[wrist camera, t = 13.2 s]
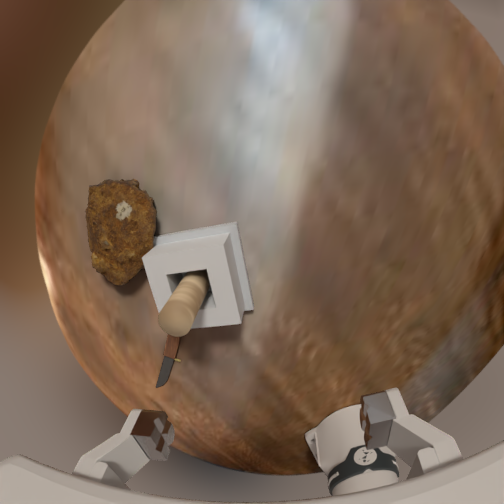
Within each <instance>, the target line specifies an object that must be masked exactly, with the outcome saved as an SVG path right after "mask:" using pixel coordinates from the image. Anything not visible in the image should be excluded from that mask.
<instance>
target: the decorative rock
mask: <svg viewBox="0 0 504 504" xmlns="http://www.w3.org/2000/svg"><path fill="white" fill-rule="evenodd" d="M138 186H139V182H138V181H137V180H135V179H132V180H125V181H124V180H123V179H121V180H120V181H113V180H104V181H103V182H102V183H100V184H98V185H90V186H89V197H88V207H87V209H86V221H87V229H88V237H89V239H88V242H89V247H90V250H91V252H92V256H91V258H92V266H93V268H95V269H96V271H97V272H98V273H101V274H104V276H105V277H106V278H107V279H108V280H109V281H110V282H112V283H113V284H114V285H119V286H122V285H124V284H126V283H128V281H129V279H132V277H134V276H136V275H137V273H138V272H139V271H140V270H141V269H144V268H145V267H144V264H143V260H142V257H143V256H144V255H145V254H147V253H148V252H149V251H150V250H151V249H152V248H153V247H154V244H153V241H154V234H155V231H156V214H157V211H156V210H155V208H154V207H153V202H154V200H153V198H151V197H149V196H148V194H147V192H146V191H142V190H140V189H138Z"/></svg>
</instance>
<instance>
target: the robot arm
mask: <svg viewBox="0 0 504 504" xmlns="http://www.w3.org/2000/svg"><path fill="white" fill-rule="evenodd" d="M360 403H361V404H360V405H354V406H349V407H346V408H343V409H341V410H338V411H336V412H334V413H332V414H331V415H329V416H328V417H326V418H325V419H324V420H323V421H322V422H321V423H320V424H319V425H318V426H317V427H316V428H314V429H312V430H310V431H308V432H307V433H305V439H306V441H307V443H308V445H309V447H310V449H311V451H312V453H313V455H314V457H315V459H316V461H317V463H318V465H319V466H320V468H321V469H322V470H323V472H324V473H325V474H326V476H327V477H328V488H329V491H330V494H331V495H332V496H329V497H322V498H314V499H305V500H294V501H279V502H216V501H201V500H190V499H181V498H173V497H166V496H159V495H153V494H147V493H142V492H137V491H132V490H130V489H129V488H128V487H127V486H126V484H125V483H126V482H127V481H128V480H129V479H130V478H131V477H132V476H133V475H135V474H136V473H137V472H138V471H139V470H140V469H141V468H142V467H143V466H144V465H145V464H146V463H147V462H148V461H149V459H151V460H162V461H167V458H168V455H169V452H170V448H169V445H170V444H171V443H172V442H173V440H174V428H173V425H172V423H171V422H169V421H168V420H167V418H168V416H167V414H166V412H164V411H154V410H141V409H133V410H132V411H131V412H130V414H129V416H128V418H127V420H126V422H125V424H124V426H123V428H122V430H121V432H120V434H118V433H117V434H115V435H114V436H112V437H111V438H109V439H108V440H106V441H105V442H103V443H102V444H100V445H99V446H97V447H96V448H94V449H92V450H91V451H89V452H88V453H86V454H84V455H83V456H81V458H80V460H79V462H78V464H77V466H76V468H75V469H74V471H73V473H72V474H69V473H67V472H64V471H61V470H58V469H55V468H53V467H50V466H48V465H45V464H42V463H40V462H38V461H35V460H33V459H31V458H28V457H26V456H24V455H20V454H19V455H15V456H12V457H9V458H7V459H5V460H3V461H1V462H0V504H504V440H503V441H501V442H499V443H497V444H495V445H493V446H491V447H489V448H487V449H485V450H483V451H481V452H479V453H477V454H474V455H472V456H470V457H468V458H465V459H463V458H462V455H461V453H460V451H459V449H458V446H457V444H456V442H455V440H454V438H453V437H451V436H450V435H448V434H446V433H444V432H443V431H440V430H439V429H437V428H435V427H434V426H432V425H430V424H429V423H427V422H425V421H423V420H422V419H420V418H418V417H417V416H415V415H413V414H411V415H409V413H408V411H407V408H406V406H405V404H404V401H403V399H402V397H401V394H400V392H399V390H398V388H393V389H389V390H385V391H380V392H376V393H371V394H367V395H362V396H361V399H360ZM396 455H397V456H398V457H399V458H401V459H402V460H403V461H404V462H405V463H407V464H408V465H409V466H410V467H411V470H410V472H409V475H408V477H407V479H406V480H404V481H400V482H399V481H398V477H399V471H398V465H397V463H396V459H395V456H396Z"/></svg>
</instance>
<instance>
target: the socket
mask: <svg viewBox="0 0 504 504" xmlns="http://www.w3.org/2000/svg"><path fill="white" fill-rule="evenodd" d="M153 244H154V247H153V248H152V249H151V250H150V251H149V252H148V253H147V254H145V255H144V256H143V257H142V260H143V264H144V267H145V270H146V274H147V277H148V280H149V284H150V287H151V290H152V293H153V296H154V299H155V302H156V305H157V308H158V311H159V313H160V311H161V310H162V308H163V307H164V305H165V304H166V302H167V301H168V299H169V298H170V296H171V295H172V293H173V292H174V290H175V289H176V288H177V286H178V285H179V283H180V282H181V280H182V279H183V277H184V276H185V274H186V273H187V272H189V271H196V270H203V269H207V273H208V277H209V281H210V287H209V289H208V291H207V294H206V296H205V298H204V300H203V302H202V304H201V307H200V309H199V311H198V313H197V315H196V318H195V320H194V322H193V324H192V327H191V329H192V328H204V327H214V326H225V325H234V324H241V322H242V317H243V312H244V311H248V310H254V303H253V298H252V293H251V288H250V283H249V278H248V273H247V268H246V263H245V258H244V253H243V248H242V243H241V238H240V233H239V228H238V223H237V222H232V223H226V224H220V225H214V226H208V227H203V228H197V229H191V230H186V231H180V232H175V233H169V234H164V235H158V236H154V241H153Z"/></svg>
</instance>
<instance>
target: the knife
mask: <svg viewBox="0 0 504 504" xmlns="http://www.w3.org/2000/svg"><path fill="white" fill-rule="evenodd" d="M179 343H180V337H176V336H171V335H169V334H168V336H167V341H166V345H165V349H164V354H163V355H164V360H163V363H162V367H161V370H160V374H159V378H158V381H157V385H156V388H157V387H160V386H162V385H164V384H165V383H166V381H167V380H168V377H169V374H170V371H171V368H172V365H173V362H174V360H176V361H178V362H180V361H181V360H179V359H177V358H176V354H177V350H178V347H179Z"/></svg>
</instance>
